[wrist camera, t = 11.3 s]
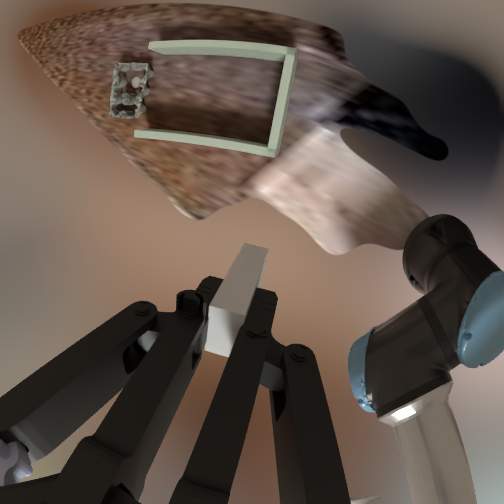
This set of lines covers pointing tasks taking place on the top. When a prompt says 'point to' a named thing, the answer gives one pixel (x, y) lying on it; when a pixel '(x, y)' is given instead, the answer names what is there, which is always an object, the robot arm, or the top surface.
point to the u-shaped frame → (240, 50)
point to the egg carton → (128, 98)
